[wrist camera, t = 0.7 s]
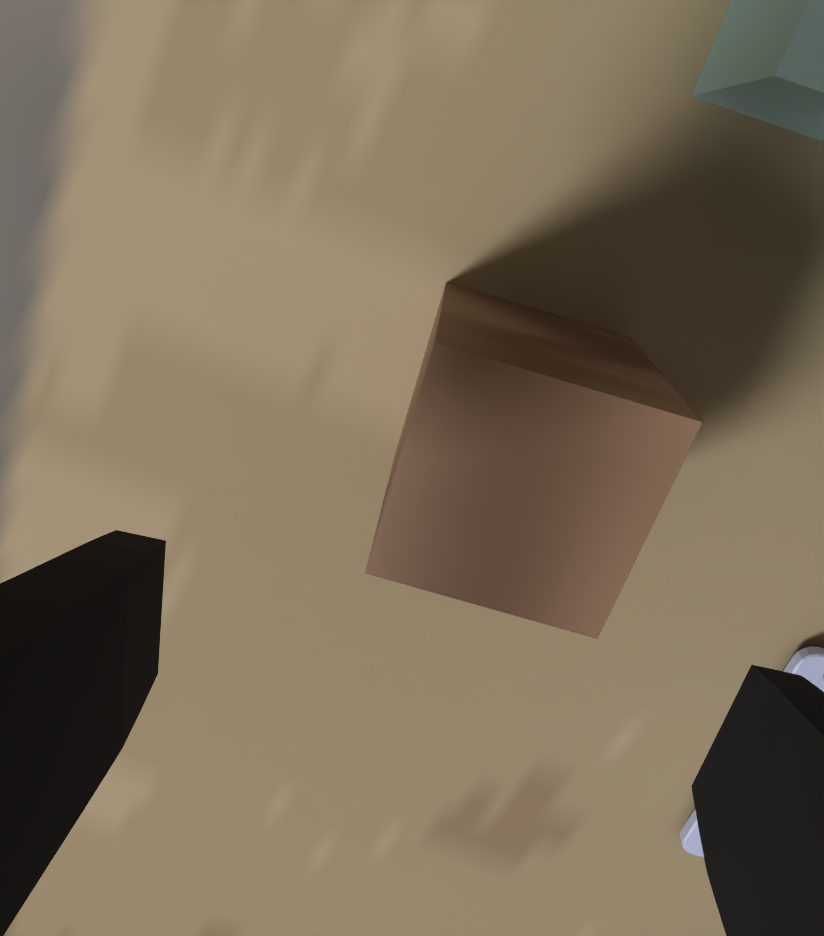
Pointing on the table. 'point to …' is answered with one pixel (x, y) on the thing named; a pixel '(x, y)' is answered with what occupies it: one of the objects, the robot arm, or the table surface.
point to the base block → (769, 64)
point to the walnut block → (529, 463)
